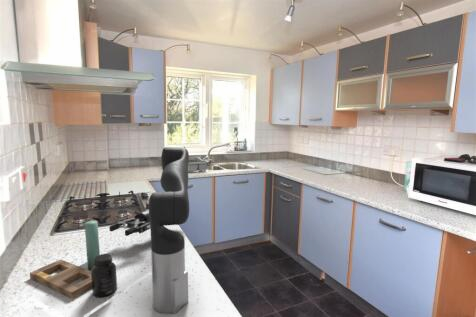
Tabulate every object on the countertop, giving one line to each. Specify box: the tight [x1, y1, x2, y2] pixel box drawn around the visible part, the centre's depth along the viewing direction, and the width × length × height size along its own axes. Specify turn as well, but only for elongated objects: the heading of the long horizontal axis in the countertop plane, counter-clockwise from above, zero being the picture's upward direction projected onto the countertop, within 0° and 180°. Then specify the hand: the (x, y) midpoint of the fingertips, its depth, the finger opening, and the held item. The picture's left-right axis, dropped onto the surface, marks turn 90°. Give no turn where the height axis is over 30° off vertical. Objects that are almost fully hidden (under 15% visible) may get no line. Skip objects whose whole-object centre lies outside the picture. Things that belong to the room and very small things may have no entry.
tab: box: [78, 261, 92, 271], centre depth 101 cm, size 9×9×1 cm
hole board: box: [29, 258, 92, 300], centre depth 92 cm, size 22×10×3 cm, turn 63°
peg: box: [84, 220, 101, 269], centre depth 100 cm, size 4×4×16 cm
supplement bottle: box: [91, 253, 118, 299], centre depth 86 cm, size 7×7×12 cm
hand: (117, 231), depth 109 cm, fingers open, 8 cm apart
